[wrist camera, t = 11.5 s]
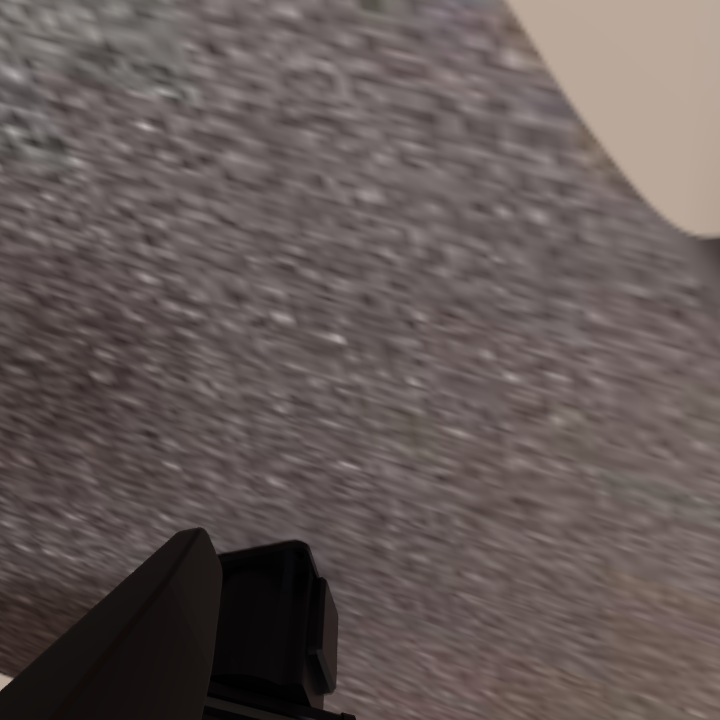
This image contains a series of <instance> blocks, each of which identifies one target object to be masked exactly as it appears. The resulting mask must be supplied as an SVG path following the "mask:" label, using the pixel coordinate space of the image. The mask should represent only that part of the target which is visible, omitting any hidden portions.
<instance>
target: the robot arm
mask: <svg viewBox="0 0 720 720" xmlns="http://www.w3.org/2000/svg"><path fill="white" fill-rule="evenodd" d="M296 552H302V554H298V553H296ZM337 639H338V613H337V610H336V607H335V604H334V601H333V598H332V595H331V592H330V589H329V586H328V583H327V580H325V579H324V578H323V577H319V574H318V571H317V568H316V565H315V562H314V559H313V556H312V553H311V550H310V548H309V546H308V545H307V544H306V543H304V542H293V543H288V544H283V545H278V546H273V547H268V548H263V549H257V550H252V551H247V552H242V553H237V554H232V555H227V556H221V557H218V556H217V554H216V551H215V549H214V547H213V544H212V542H211V540H210V537H209V535H208V533H207V531H206V530H205V529H203V528H201V527H198V528H193V529H188V530H183V531H180V532H178V533H176V534H175V535H174V536H173V537H172V538H171V539H170V540H168V541H167V542H166V543H165V544H164V545H163V546H162V547H161V548H159V549H158V550H157V551H156V552H155V553H154V554H153V555H152V556H151V557H149V558H148V559H147V560H146V561H145V562H144V563H143V564H142V565H141V566H139V567H138V568H137V569H136V570H135V571H134V572H133V573H132V574H130V575H129V576H128V577H127V578H126V579H125V580H124V581H123V582H122V583H120V584H119V585H118V586H117V587H116V588H115V589H114V590H113V591H111V592H110V593H109V594H108V595H107V596H106V597H105V598H104V599H103V600H101V601H100V602H99V603H98V604H97V605H96V606H95V607H94V608H92V609H91V610H90V611H89V612H88V613H87V614H86V615H85V616H84V617H82V618H81V619H80V620H79V621H78V622H77V623H76V624H75V625H74V626H72V627H71V628H70V629H69V630H68V631H67V632H66V633H65V634H63V635H62V636H61V637H60V638H59V639H58V640H57V641H56V642H55V643H53V644H52V645H51V646H50V647H49V648H48V649H47V650H46V651H44V652H43V653H42V654H41V655H40V656H39V657H38V658H37V659H36V660H34V661H33V662H32V663H31V664H30V665H29V666H28V667H27V668H26V669H24V670H23V671H22V672H21V673H20V674H19V675H18V676H17V677H15V678H14V679H13V680H12V681H11V682H10V683H9V684H8V685H7V686H5V687H4V688H3V689H2V690H1V691H0V720H356V718H355V716H354V715H350V714H347V713H343V712H342V713H341V715H340V714H336V713H333V712H329V711H325V710H323V702H324V696H325V695H331V694H332V693H333V692H334V690H335V689H336V675H337Z"/></svg>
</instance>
